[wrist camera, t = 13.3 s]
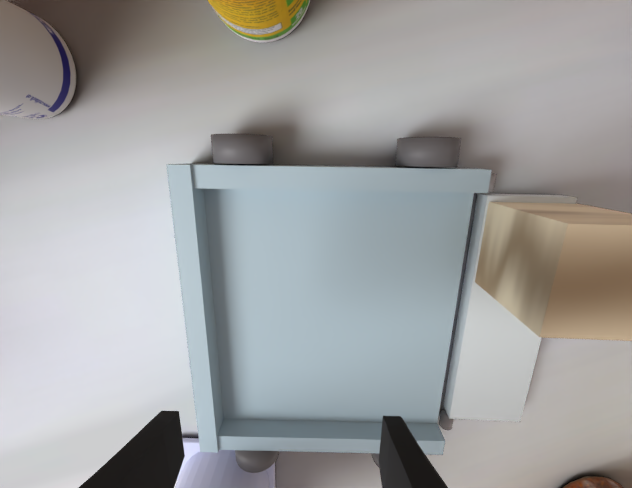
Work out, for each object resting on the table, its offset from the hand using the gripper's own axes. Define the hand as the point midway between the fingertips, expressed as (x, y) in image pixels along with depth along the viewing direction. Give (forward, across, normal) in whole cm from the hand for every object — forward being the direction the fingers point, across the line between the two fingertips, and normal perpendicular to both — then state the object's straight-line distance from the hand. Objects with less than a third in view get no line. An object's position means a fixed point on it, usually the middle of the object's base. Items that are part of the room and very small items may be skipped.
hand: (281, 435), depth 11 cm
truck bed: (+10, -2, 0) cm, 11 cm away
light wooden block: (+9, -14, -5) cm, 17 cm away
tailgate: (+10, -11, 0) cm, 15 cm away
